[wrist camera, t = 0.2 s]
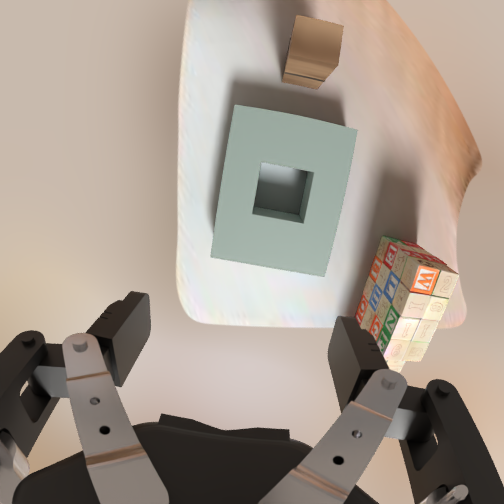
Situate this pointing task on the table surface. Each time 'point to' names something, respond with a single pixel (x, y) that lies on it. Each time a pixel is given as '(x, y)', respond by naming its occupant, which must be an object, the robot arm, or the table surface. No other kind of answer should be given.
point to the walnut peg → (312, 52)
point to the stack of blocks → (404, 300)
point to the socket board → (276, 222)
